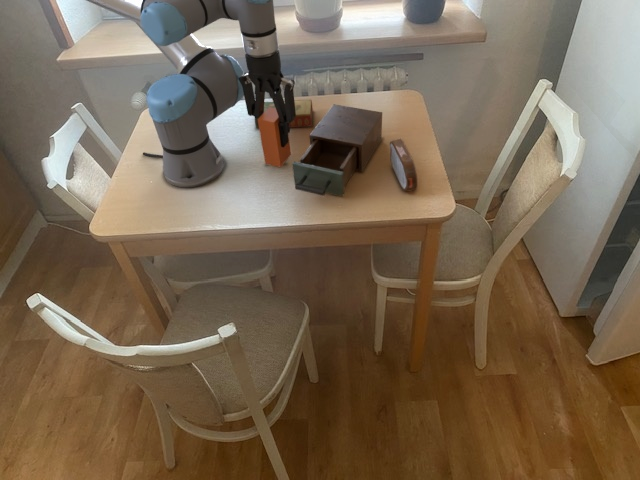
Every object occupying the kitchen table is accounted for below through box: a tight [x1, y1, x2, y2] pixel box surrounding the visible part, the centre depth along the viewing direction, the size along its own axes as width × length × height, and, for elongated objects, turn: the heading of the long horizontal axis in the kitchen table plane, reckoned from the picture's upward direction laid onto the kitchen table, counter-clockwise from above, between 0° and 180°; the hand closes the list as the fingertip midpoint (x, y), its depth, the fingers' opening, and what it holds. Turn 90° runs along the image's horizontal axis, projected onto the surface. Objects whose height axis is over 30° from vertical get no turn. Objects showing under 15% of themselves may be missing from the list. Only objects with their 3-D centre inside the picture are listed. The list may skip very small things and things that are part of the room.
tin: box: [389, 138, 418, 192], centre depth 112 cm, size 15×3×8 cm, turn 9°
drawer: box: [292, 139, 359, 197], centre depth 113 cm, size 19×12×6 cm, turn 156°
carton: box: [254, 99, 314, 130], centre depth 136 cm, size 8×16×4 cm, turn 89°
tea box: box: [257, 107, 292, 168], centre depth 118 cm, size 6×4×13 cm
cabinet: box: [309, 104, 383, 173], centre depth 122 cm, size 16×14×8 cm
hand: (275, 142), depth 119 cm, fingers closed on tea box, 4 cm apart
